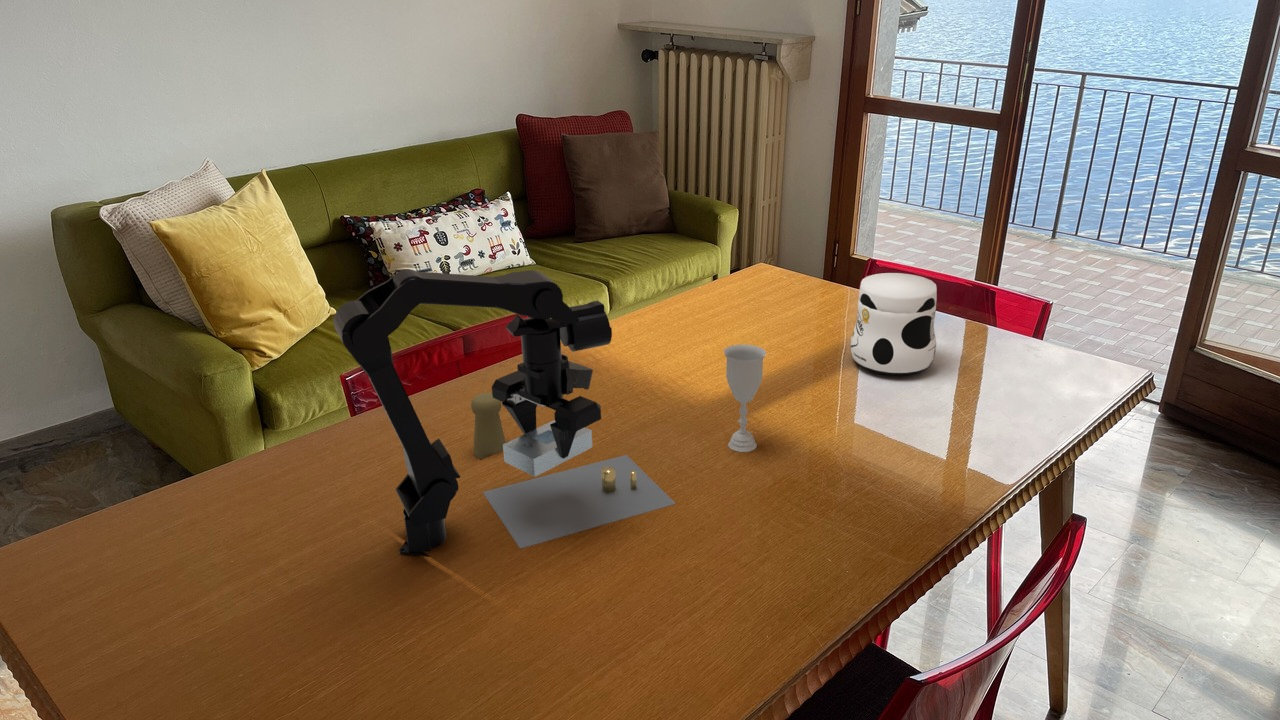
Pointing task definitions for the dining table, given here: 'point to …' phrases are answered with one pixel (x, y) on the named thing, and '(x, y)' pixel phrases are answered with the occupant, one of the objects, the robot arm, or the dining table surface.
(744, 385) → the chalice
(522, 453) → the silver rectangular block
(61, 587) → the dining table surface
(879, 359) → the milk container
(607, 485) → the pair of brass cylinders
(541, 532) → the mount board
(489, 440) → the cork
